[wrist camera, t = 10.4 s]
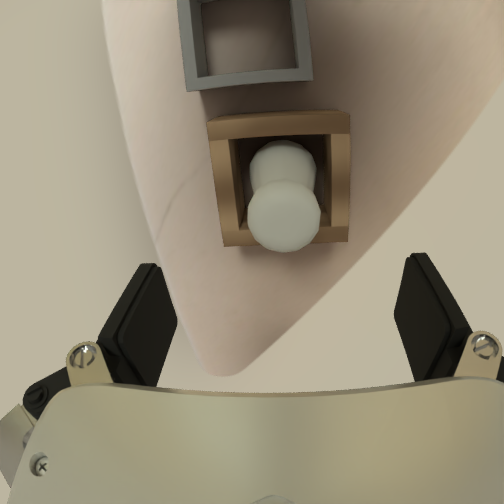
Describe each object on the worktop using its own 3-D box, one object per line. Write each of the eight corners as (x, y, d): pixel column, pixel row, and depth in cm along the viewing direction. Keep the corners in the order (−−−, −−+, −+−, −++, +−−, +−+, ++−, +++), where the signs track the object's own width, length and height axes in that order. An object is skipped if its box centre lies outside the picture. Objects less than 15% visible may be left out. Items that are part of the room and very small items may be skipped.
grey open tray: (188, -4, 20) (175, -15, 17) (298, -16, 19) (300, -30, 16) (199, 90, 25) (186, 91, 22) (308, 81, 24) (313, 80, 20)
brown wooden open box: (218, 116, 26) (206, 122, 22) (337, 109, 25) (349, 114, 21) (231, 222, 32) (224, 246, 27) (338, 217, 30) (347, 241, 26)
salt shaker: (308, 131, 26) (331, 167, 15) (317, 189, 29) (340, 261, 18) (245, 141, 27) (220, 185, 16) (258, 198, 30) (244, 274, 19)
